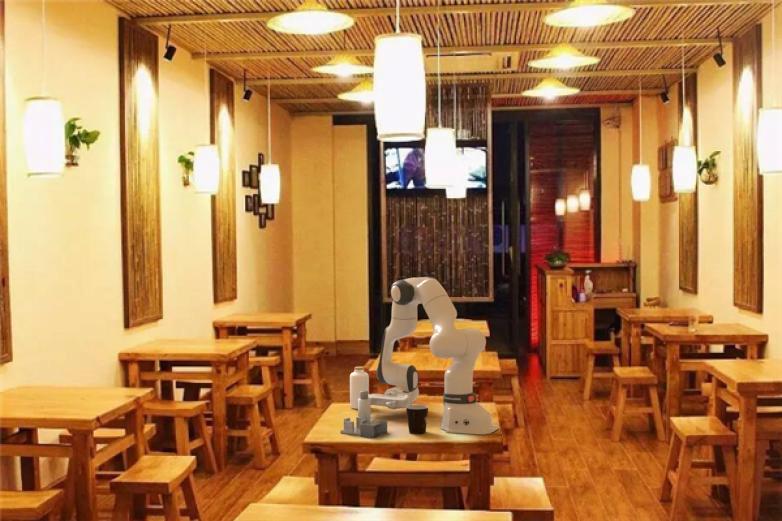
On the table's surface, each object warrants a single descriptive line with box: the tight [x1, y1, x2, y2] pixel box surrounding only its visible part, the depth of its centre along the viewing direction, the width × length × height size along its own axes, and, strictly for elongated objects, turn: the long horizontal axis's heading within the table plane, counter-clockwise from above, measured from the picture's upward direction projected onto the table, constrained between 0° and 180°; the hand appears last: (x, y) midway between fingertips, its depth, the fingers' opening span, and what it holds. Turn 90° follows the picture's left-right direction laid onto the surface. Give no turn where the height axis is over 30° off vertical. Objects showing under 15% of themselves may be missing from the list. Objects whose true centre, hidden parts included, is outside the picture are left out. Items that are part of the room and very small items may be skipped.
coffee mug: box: [405, 404, 429, 435], centre depth 338 cm, size 12×9×10 cm
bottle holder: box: [340, 416, 388, 439], centre depth 339 cm, size 16×10×5 cm, turn 60°
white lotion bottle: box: [357, 391, 372, 422], centre depth 352 cm, size 5×5×14 cm
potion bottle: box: [349, 366, 370, 410], centre depth 388 cm, size 8×8×18 cm
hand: (377, 404), depth 360 cm, fingers open, 8 cm apart
